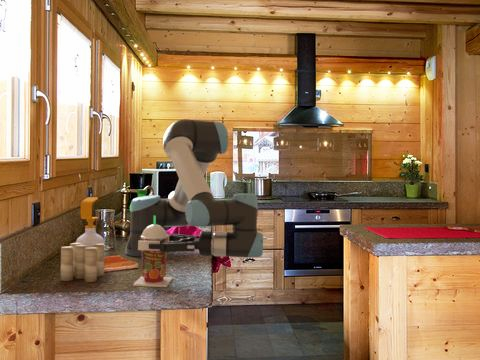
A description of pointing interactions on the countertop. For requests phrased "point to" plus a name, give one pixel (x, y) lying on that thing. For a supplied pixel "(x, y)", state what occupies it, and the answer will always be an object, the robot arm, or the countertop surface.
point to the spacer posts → (82, 262)
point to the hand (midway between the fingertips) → (143, 241)
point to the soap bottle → (89, 224)
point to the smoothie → (154, 254)
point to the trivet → (162, 283)
